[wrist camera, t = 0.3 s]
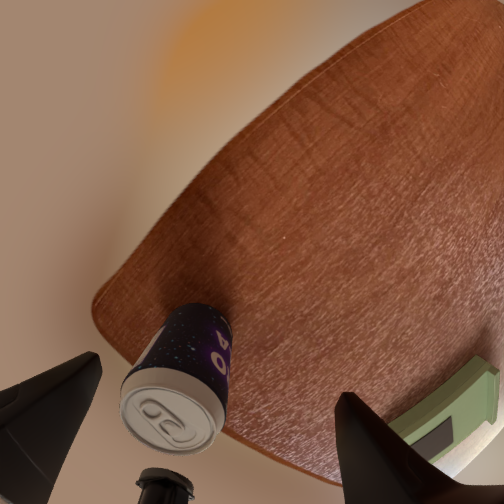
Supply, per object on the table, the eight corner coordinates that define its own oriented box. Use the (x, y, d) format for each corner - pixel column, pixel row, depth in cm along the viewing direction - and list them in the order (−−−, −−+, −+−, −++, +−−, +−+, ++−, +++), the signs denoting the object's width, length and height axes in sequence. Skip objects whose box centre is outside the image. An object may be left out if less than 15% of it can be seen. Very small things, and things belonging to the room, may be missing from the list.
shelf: (394, 468, 27) (406, 490, 22) (375, 431, 25) (391, 458, 20) (478, 404, 26) (496, 420, 21) (475, 354, 25) (500, 370, 20)
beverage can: (198, 370, 23) (171, 470, 11) (154, 325, 23) (92, 406, 11) (246, 336, 23) (250, 435, 11) (201, 285, 22) (161, 356, 10)
